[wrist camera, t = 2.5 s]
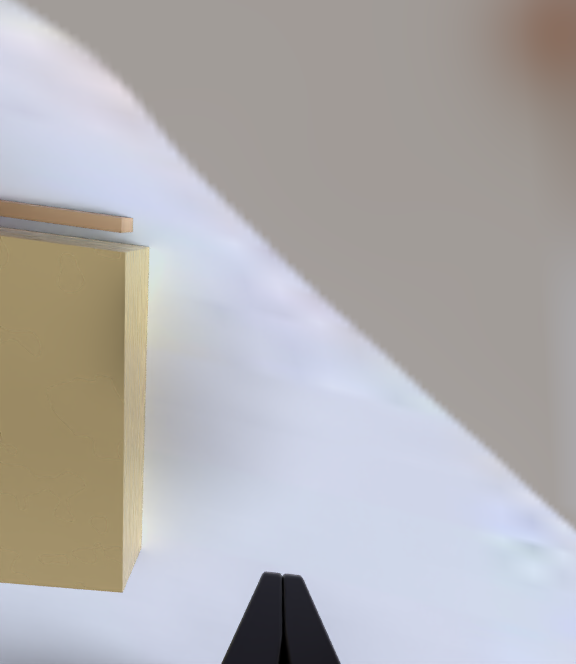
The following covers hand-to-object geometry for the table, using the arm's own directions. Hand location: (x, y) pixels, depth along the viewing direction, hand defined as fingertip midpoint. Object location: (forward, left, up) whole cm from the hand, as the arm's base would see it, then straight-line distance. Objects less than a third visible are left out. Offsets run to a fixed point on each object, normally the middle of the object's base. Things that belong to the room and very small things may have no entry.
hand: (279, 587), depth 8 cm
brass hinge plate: (0, +10, -6) cm, 11 cm away
